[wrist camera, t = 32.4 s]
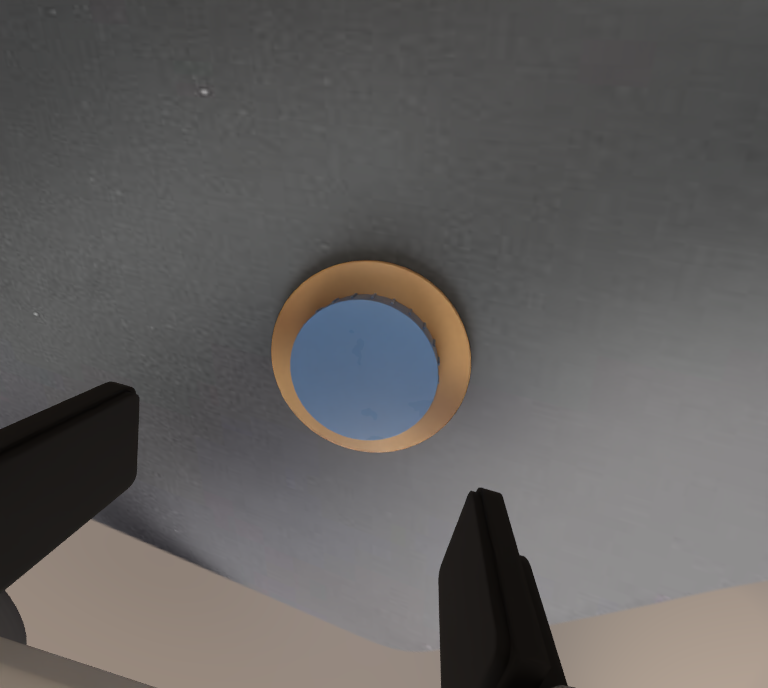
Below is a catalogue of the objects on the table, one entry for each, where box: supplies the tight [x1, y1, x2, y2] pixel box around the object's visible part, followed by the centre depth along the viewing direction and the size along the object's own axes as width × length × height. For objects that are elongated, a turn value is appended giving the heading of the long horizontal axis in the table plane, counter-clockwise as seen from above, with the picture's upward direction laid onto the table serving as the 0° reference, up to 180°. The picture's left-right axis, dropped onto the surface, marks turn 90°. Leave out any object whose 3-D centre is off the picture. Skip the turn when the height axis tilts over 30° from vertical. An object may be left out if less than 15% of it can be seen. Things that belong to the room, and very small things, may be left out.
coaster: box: [271, 260, 471, 452], centre depth 18 cm, size 10×10×1 cm
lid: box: [290, 293, 440, 440], centre depth 17 cm, size 7×7×1 cm
